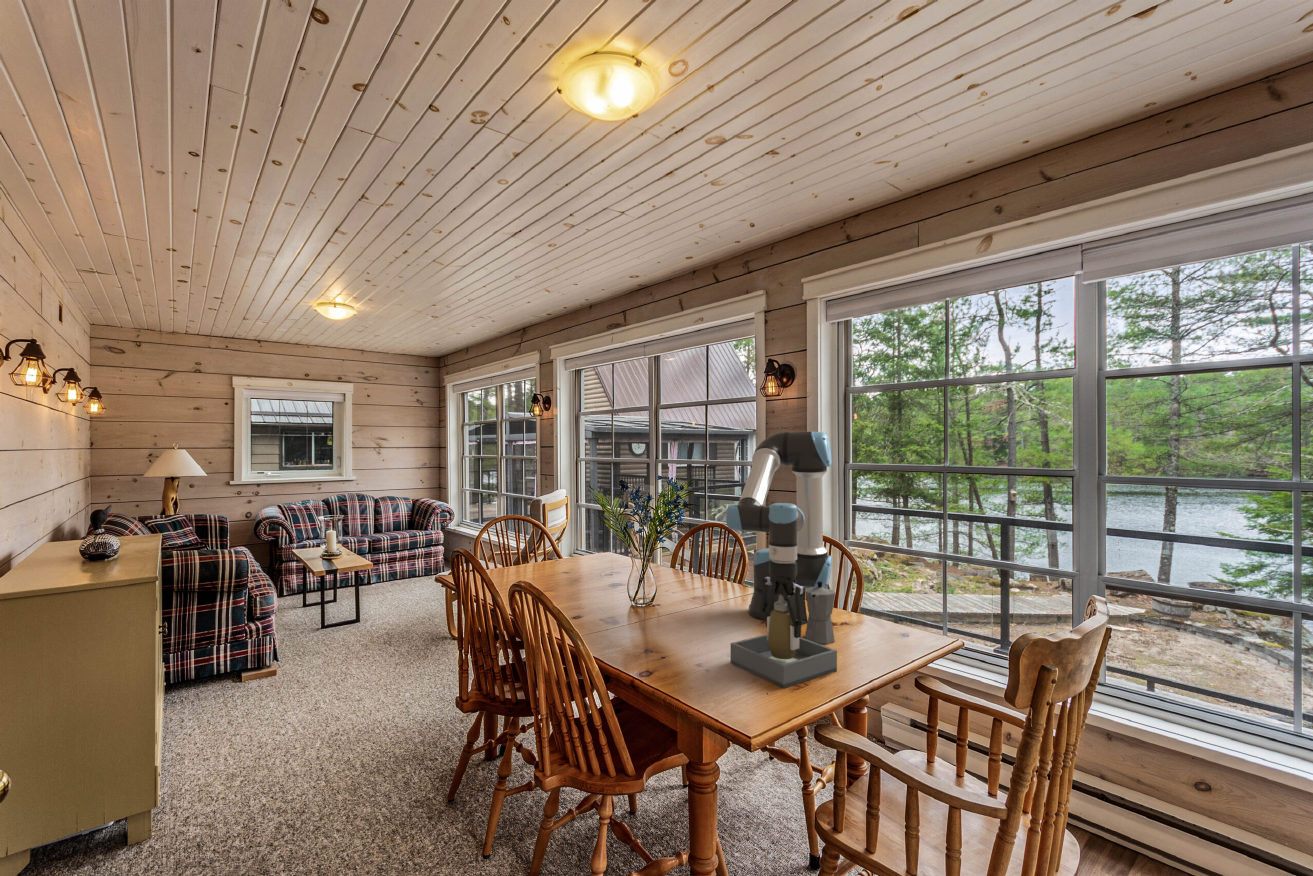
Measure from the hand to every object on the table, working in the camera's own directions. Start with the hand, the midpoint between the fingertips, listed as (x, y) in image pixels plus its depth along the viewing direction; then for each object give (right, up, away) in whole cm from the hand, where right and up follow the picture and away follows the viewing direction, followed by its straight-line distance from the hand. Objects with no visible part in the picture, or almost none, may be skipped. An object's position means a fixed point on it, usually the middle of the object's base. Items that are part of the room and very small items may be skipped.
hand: (782, 644), depth 161 cm
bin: (0, -6, 0) cm, 6 cm away
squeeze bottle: (0, -3, 0) cm, 3 cm away
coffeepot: (+17, -7, +23) cm, 29 cm away
